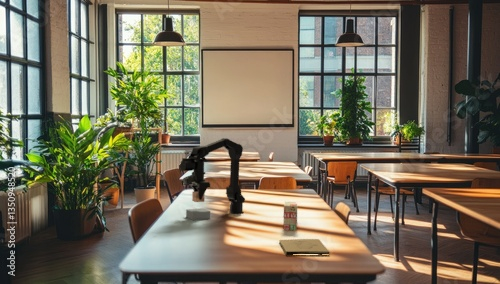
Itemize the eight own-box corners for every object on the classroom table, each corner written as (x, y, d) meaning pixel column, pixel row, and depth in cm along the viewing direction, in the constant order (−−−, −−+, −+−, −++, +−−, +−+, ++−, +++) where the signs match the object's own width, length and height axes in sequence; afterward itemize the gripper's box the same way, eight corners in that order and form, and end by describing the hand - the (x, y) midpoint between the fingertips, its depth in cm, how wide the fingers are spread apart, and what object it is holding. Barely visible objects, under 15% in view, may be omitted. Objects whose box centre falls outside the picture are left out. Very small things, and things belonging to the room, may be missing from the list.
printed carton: (285, 221, 262) (285, 198, 262) (297, 222, 261) (297, 199, 261) (283, 230, 241) (283, 205, 240) (296, 231, 240) (296, 205, 240)
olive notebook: (279, 243, 215) (279, 238, 215) (319, 243, 216) (319, 238, 216) (285, 257, 194) (285, 251, 194) (329, 257, 195) (329, 251, 195)
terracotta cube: (201, 200, 272) (201, 191, 272) (204, 201, 268) (204, 192, 268) (192, 200, 270) (192, 191, 270) (195, 202, 266) (195, 192, 265)
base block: (203, 215, 276) (203, 208, 276) (210, 218, 267) (210, 211, 267) (186, 216, 271) (186, 209, 271) (192, 220, 263) (192, 212, 262)
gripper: (178, 169, 273) (178, 197, 273) (190, 172, 256) (190, 202, 257) (197, 168, 278) (197, 196, 279) (210, 171, 261) (210, 201, 262)
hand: (198, 198), depth 269 cm, fingers closed on terracotta cube, 5 cm apart
